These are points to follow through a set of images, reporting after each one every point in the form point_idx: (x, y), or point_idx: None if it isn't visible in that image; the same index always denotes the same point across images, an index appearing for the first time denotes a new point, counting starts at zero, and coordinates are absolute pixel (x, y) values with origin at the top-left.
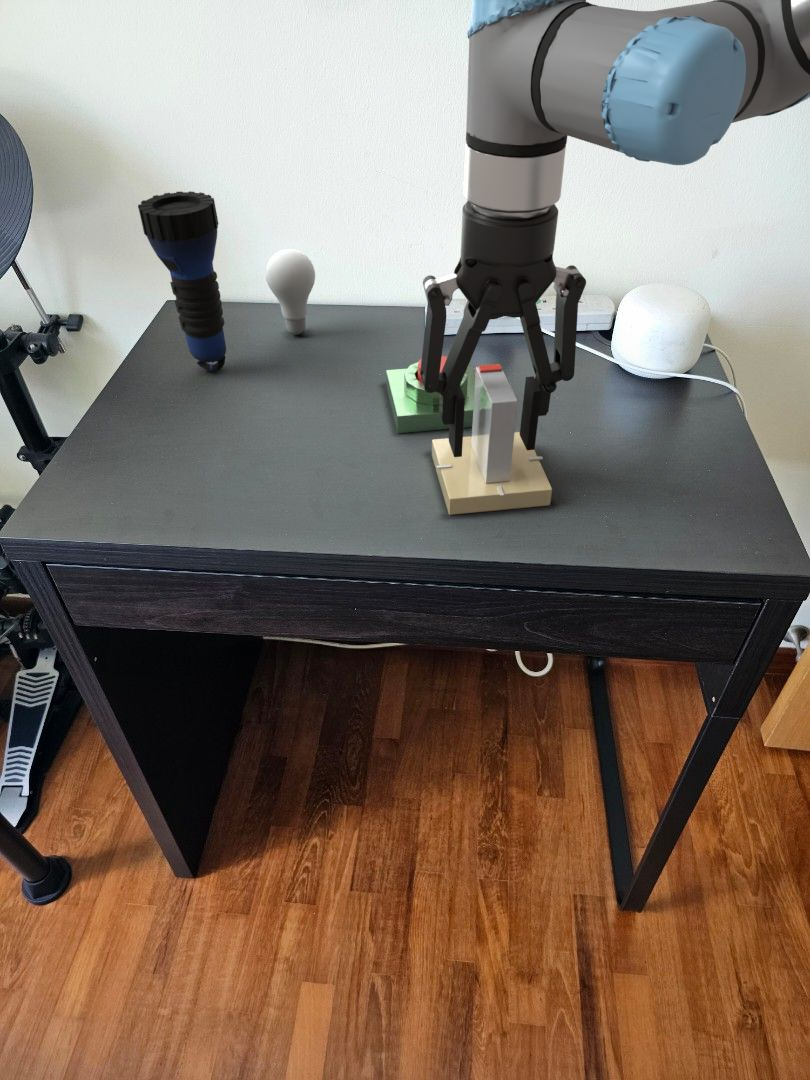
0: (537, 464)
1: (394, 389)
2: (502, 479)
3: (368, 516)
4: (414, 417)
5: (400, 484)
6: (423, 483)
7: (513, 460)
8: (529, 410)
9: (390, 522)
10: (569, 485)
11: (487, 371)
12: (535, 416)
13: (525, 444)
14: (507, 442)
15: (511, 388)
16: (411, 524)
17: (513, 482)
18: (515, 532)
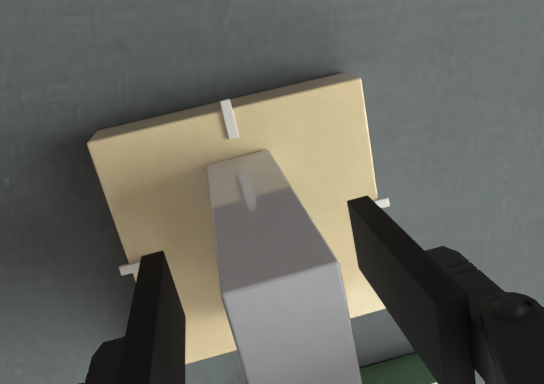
0: (132, 244)
1: None
2: (225, 161)
3: (522, 55)
4: (426, 379)
5: (447, 176)
6: (397, 184)
7: (196, 252)
8: (162, 339)
9: (477, 36)
10: (49, 215)
11: None
12: (139, 319)
13: (168, 269)
14: (231, 205)
15: (248, 380)
16: (431, 31)
17: (195, 161)
18: (182, 15)
